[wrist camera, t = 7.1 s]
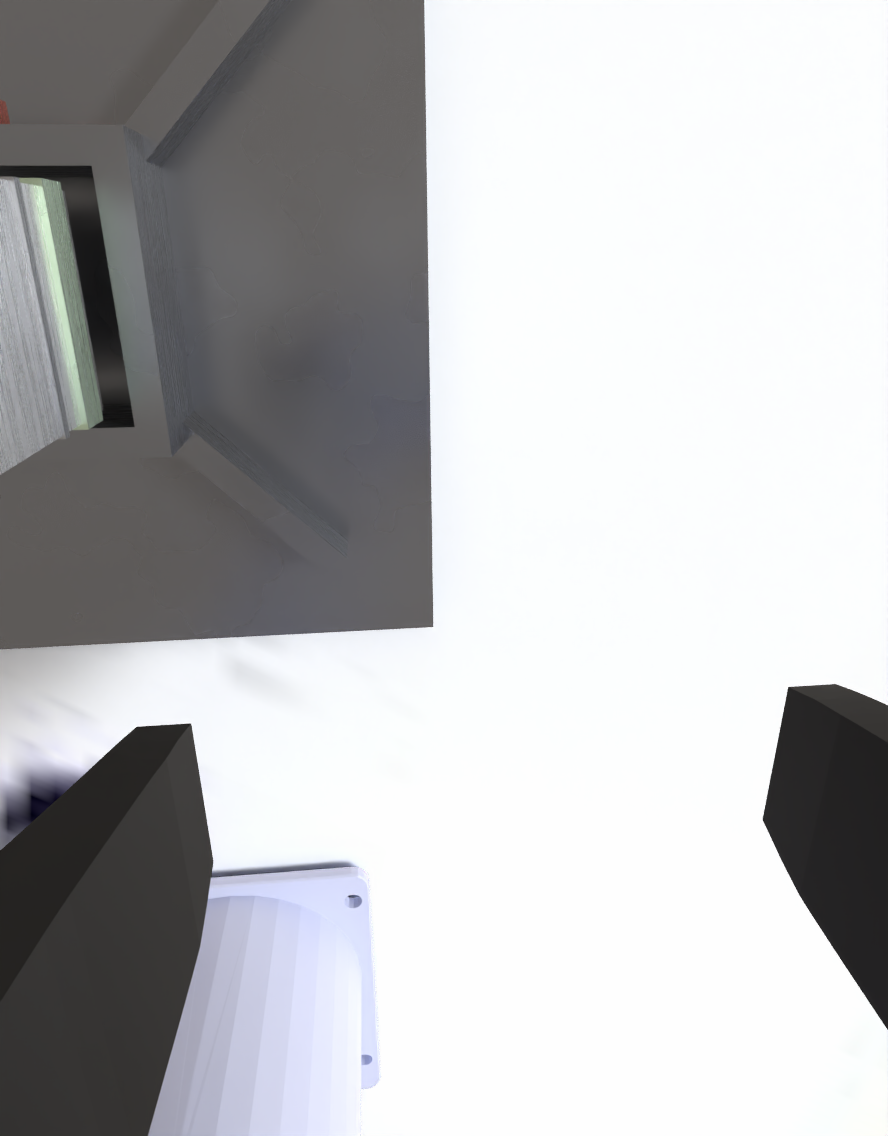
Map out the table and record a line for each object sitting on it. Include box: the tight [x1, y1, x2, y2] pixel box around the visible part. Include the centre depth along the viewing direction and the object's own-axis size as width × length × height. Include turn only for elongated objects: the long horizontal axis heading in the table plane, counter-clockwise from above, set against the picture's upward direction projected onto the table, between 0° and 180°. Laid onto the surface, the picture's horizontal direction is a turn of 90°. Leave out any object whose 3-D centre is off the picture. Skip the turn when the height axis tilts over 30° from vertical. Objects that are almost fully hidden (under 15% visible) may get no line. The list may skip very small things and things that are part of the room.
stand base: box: [0, 0, 433, 649], centre depth 15 cm, size 16×16×3 cm
